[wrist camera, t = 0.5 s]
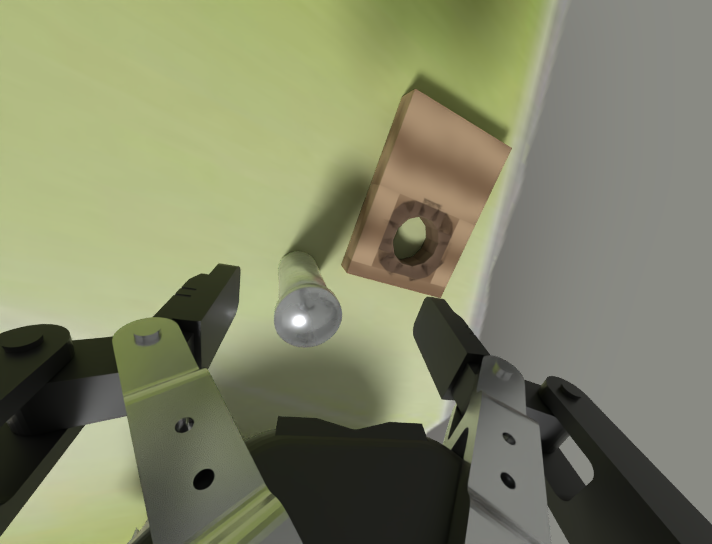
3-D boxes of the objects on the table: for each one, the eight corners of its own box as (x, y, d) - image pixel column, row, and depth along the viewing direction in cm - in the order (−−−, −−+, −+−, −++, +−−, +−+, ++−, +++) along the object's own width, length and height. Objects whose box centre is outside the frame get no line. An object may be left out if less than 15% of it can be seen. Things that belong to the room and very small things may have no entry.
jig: (402, 96, 28) (415, 88, 26) (492, 150, 34) (511, 148, 31) (341, 264, 33) (346, 273, 31) (428, 289, 38) (440, 298, 36)
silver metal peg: (281, 242, 30) (285, 280, 19) (325, 254, 32) (351, 296, 21) (269, 284, 32) (266, 342, 21) (312, 293, 34) (329, 351, 23)
